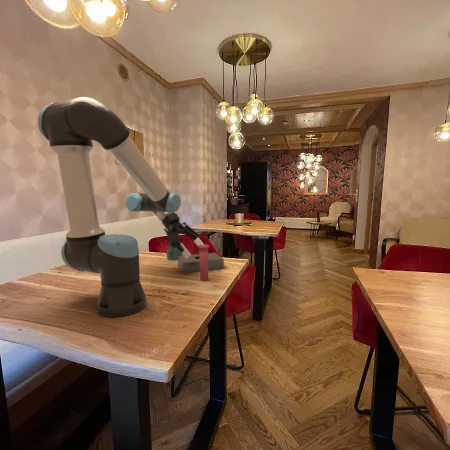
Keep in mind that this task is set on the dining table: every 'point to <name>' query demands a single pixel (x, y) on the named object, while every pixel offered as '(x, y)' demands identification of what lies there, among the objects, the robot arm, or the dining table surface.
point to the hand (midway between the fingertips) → (197, 253)
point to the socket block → (194, 263)
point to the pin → (203, 262)
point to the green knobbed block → (173, 253)
